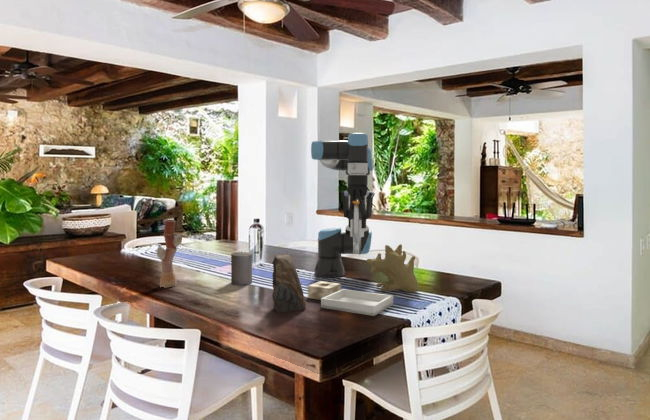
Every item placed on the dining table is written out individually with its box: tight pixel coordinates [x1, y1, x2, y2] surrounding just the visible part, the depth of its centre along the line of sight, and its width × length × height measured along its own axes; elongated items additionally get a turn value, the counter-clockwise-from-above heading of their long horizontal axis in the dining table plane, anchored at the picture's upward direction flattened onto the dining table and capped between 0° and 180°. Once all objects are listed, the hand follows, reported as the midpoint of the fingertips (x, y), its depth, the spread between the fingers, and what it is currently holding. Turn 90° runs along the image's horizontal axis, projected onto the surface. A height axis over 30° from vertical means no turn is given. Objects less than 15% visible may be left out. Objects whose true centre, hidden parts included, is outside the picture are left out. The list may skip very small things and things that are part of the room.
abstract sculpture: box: [156, 219, 183, 289], centre depth 217 cm, size 10×7×30 cm
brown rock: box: [271, 253, 307, 314], centre depth 183 cm, size 13×13×20 cm
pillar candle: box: [230, 250, 253, 286], centre depth 225 cm, size 10×10×15 cm
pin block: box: [307, 280, 342, 301], centre depth 200 cm, size 10×10×5 cm
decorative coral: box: [366, 243, 419, 293], centre depth 212 cm, size 26×22×25 cm
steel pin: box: [352, 201, 362, 255], centre depth 184 cm, size 4×4×20 cm
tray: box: [320, 288, 394, 317], centre depth 186 cm, size 22×18×4 cm
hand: (357, 236), depth 184 cm, fingers closed on steel pin, 3 cm apart
